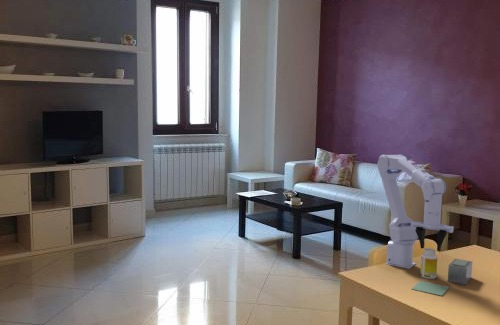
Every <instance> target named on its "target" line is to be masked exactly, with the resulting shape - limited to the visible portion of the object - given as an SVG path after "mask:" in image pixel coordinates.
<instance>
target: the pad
mask: <svg viewBox="0 0 500 325" xmlns="http://www.w3.org/2000/svg"><path fill="white" fill-rule="evenodd" d="M449 289H450V286H447V285H443V284H436V283H432V282H427V281H423V280H420V281H418V282H417V283H416V284H415V285H414V286H413V287H412V288H411V290H414V291H418V292H422V293H426V294H431V295H436V296H441V297H443V296H444V295H445V294H446V293H447V291H448V290H449Z"/></svg>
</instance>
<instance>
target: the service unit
mask: <svg viewBox="0 0 500 325" xmlns="http://www.w3.org/2000/svg"><path fill="white" fill-rule="evenodd" d="M472 272H473V261H471V260H466V259H460V258H454V259H453V260H452V261H451V262H450V263H449V264H448V273H447V282H449V283H452V282H453V283H452V284H458V285H463V286H466V285H467V284H468V283H469V282H470V280H471V279H472Z"/></svg>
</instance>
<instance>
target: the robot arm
mask: <svg viewBox="0 0 500 325" xmlns="http://www.w3.org/2000/svg"><path fill="white" fill-rule="evenodd" d="M376 166H377V169H378V172H379V175H380V178H381V182H382V185H383V189H384V192H385V197H386V199H387V203H388V206H389V209H390V213H391V216H392V218H393V219H392V221H391V222H390V223H389V225H388V228H389V237H390V240H389V241H388V243H387V246H386V262H385V265H389V266H393V267H399V268H403V269H409V270H410V269H412V267H414V266H415V265H416V262H413V258H414V255H413V254H414V244H416V241H417V240H418V241H419V244H420V249H421V250H422V249H423V250H424V249H425V236H426V230H432V231H437V233H436V234H437V245H436V251H437V252H440V251H441V248H442V244H443V242H444V240H445V238H446V236H447V235H448V233H449V234H451V233H452V234H453V233H454V226H453V225H452V226H451V225H448V224H447V225H446V224H442V223H441V221H442V220H441V218H442V217H441V216H442V203H443V202H442V200H443V195H444V193H446V190H447V184H446V182H445V180H443V178H437V177H436V178H435V176H434V175H431V174H430V173H428V172H427V170H426V169H425V168H417V167H415V166H414V165H413V164H412V163H411V162H410V161H409V160H408V158H407V157H406V156H404V155H403V154H401V153H400V154H381V155H380V156H379V157H378V161H377V163H376ZM403 172H404V173H405V174H407V175H408V176H410V178H411V182H413V183H414V184H415V185H417V186H418V187H420V188H421V191H422V194H423V199H424V207H423V210H424V211H423V221H416V220H415V221H414V220H413V219H412V218H410V217H409V216H408V215H407V211H406V209H405V204H404V202H403V199H402V194H401V192H400V189H399V184H398V182H397V179H398V178H399V177H400V176H401V174H402V173H403Z"/></svg>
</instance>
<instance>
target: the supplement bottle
mask: <svg viewBox="0 0 500 325" xmlns="http://www.w3.org/2000/svg"><path fill="white" fill-rule="evenodd" d="M437 270H438V255H437V254H436V249H434V248H432V247H424V248H423V253H422V254H421V258H420V269H419V271H420V272H419V275H420V277H421V278H424V279H427V280H432V279H436V278H437Z"/></svg>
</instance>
